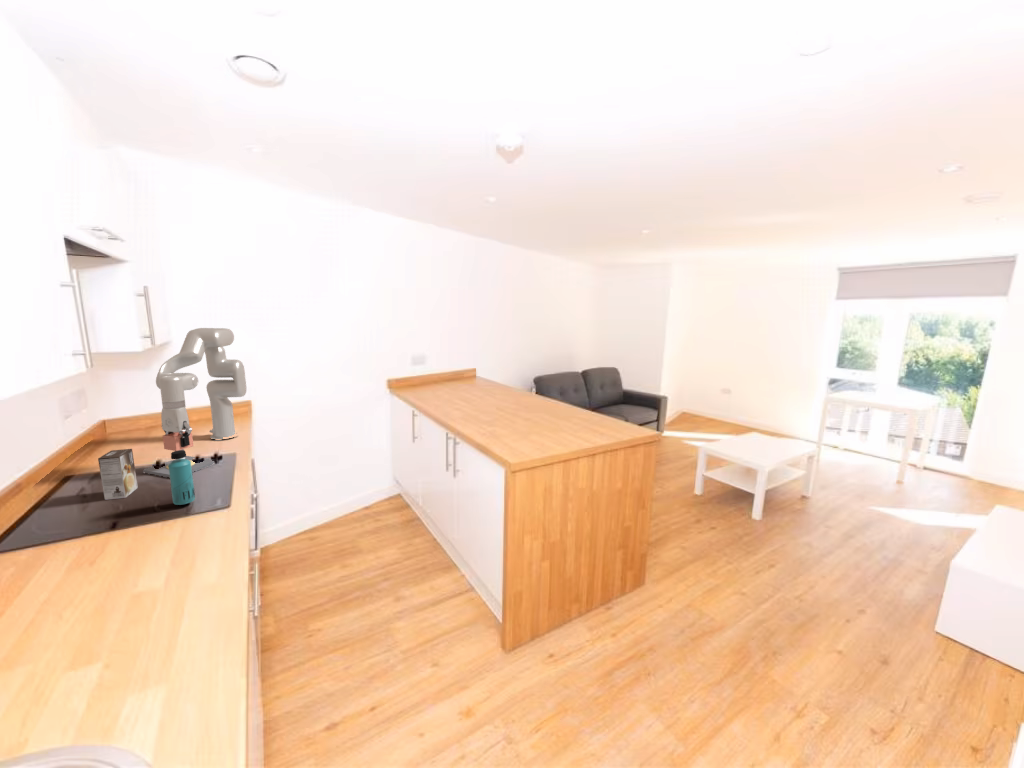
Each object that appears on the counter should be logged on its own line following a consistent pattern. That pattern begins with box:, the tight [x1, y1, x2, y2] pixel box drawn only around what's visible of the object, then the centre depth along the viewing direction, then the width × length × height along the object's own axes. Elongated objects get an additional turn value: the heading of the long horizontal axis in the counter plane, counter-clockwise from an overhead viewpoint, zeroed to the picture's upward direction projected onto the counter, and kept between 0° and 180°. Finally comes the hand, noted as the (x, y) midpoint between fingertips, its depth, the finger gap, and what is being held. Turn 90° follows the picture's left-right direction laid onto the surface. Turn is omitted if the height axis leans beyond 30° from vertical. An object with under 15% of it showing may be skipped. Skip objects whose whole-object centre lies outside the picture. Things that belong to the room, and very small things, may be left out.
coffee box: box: [97, 448, 139, 501], centre depth 150 cm, size 9×6×16 cm
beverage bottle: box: [168, 449, 196, 506], centre depth 143 cm, size 6×7×20 cm
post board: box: [142, 449, 214, 479], centre depth 176 cm, size 18×18×9 cm
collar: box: [162, 432, 194, 452], centre depth 175 cm, size 7×7×6 cm
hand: (178, 444), depth 175 cm, fingers closed on collar, 7 cm apart
